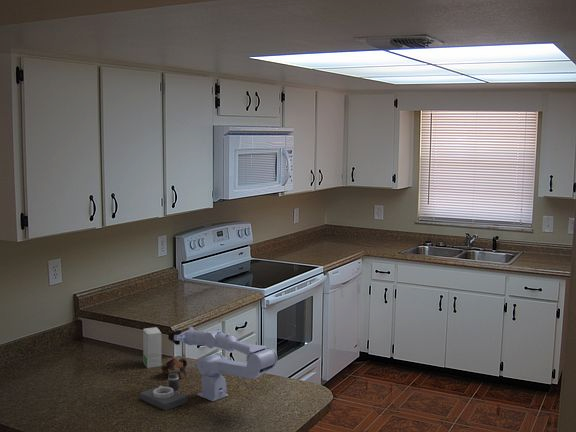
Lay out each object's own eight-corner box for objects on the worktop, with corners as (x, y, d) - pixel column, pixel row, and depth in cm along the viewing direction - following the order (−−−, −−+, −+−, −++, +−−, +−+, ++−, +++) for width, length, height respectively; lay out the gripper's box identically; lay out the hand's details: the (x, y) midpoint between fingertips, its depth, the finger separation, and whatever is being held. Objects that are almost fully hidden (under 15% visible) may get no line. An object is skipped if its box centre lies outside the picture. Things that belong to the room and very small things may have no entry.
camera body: (187, 402, 253) (186, 392, 252) (165, 410, 246) (165, 400, 245) (162, 391, 264) (161, 381, 263) (140, 398, 257) (140, 388, 256)
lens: (181, 388, 267) (180, 374, 266) (172, 391, 264) (172, 376, 263) (174, 386, 270) (174, 371, 269) (166, 389, 267) (166, 374, 266)
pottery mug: (179, 382, 275) (168, 365, 274) (165, 388, 280) (154, 371, 280) (196, 367, 284) (186, 350, 284) (182, 372, 290) (172, 356, 289)
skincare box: (143, 362, 298) (142, 328, 296) (157, 360, 300) (156, 326, 298) (147, 368, 290) (146, 333, 288) (162, 366, 293) (161, 331, 291)
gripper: (213, 327, 268) (190, 326, 277) (184, 327, 257) (162, 326, 266) (212, 345, 267) (190, 343, 276) (184, 346, 256) (161, 344, 265)
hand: (176, 336), depth 271 cm, fingers open, 7 cm apart
